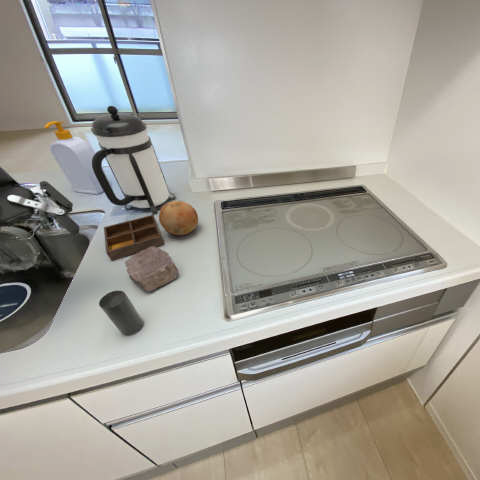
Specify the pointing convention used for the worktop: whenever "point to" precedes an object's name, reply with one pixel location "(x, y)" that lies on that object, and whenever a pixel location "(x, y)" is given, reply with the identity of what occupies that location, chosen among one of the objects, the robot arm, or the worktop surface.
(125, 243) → the brown compartment tray
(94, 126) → the coffee press
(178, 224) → the onion
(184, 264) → the worktop surface
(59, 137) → the soap bottle
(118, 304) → the dark grey cylinder
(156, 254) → the stone
